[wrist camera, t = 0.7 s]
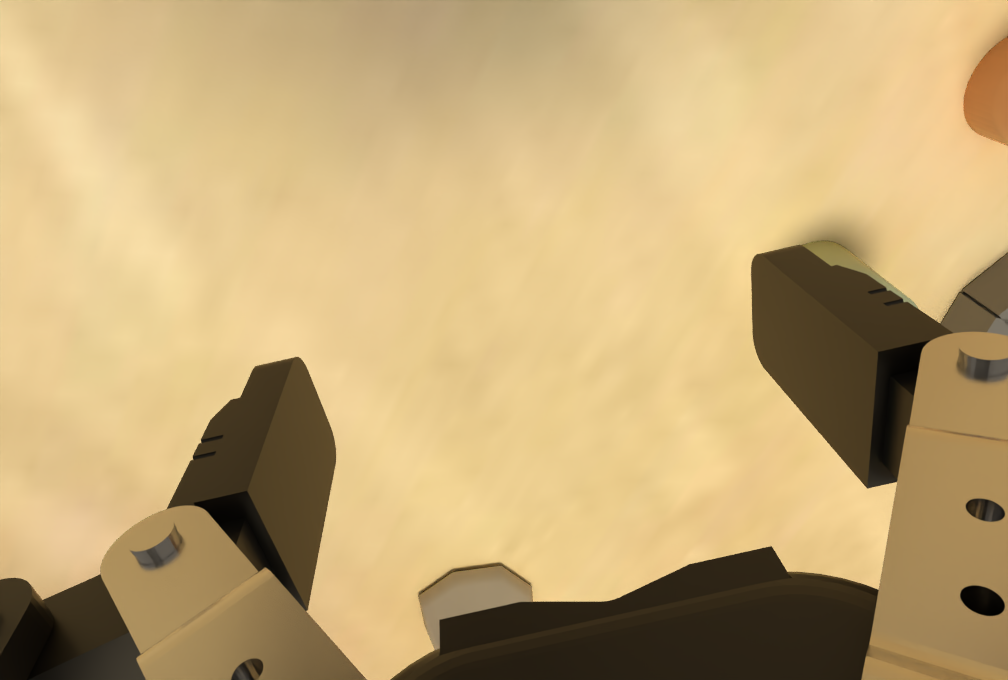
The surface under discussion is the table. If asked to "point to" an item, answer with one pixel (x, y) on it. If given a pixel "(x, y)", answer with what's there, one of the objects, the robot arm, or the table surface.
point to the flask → (470, 595)
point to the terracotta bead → (989, 95)
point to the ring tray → (982, 303)
